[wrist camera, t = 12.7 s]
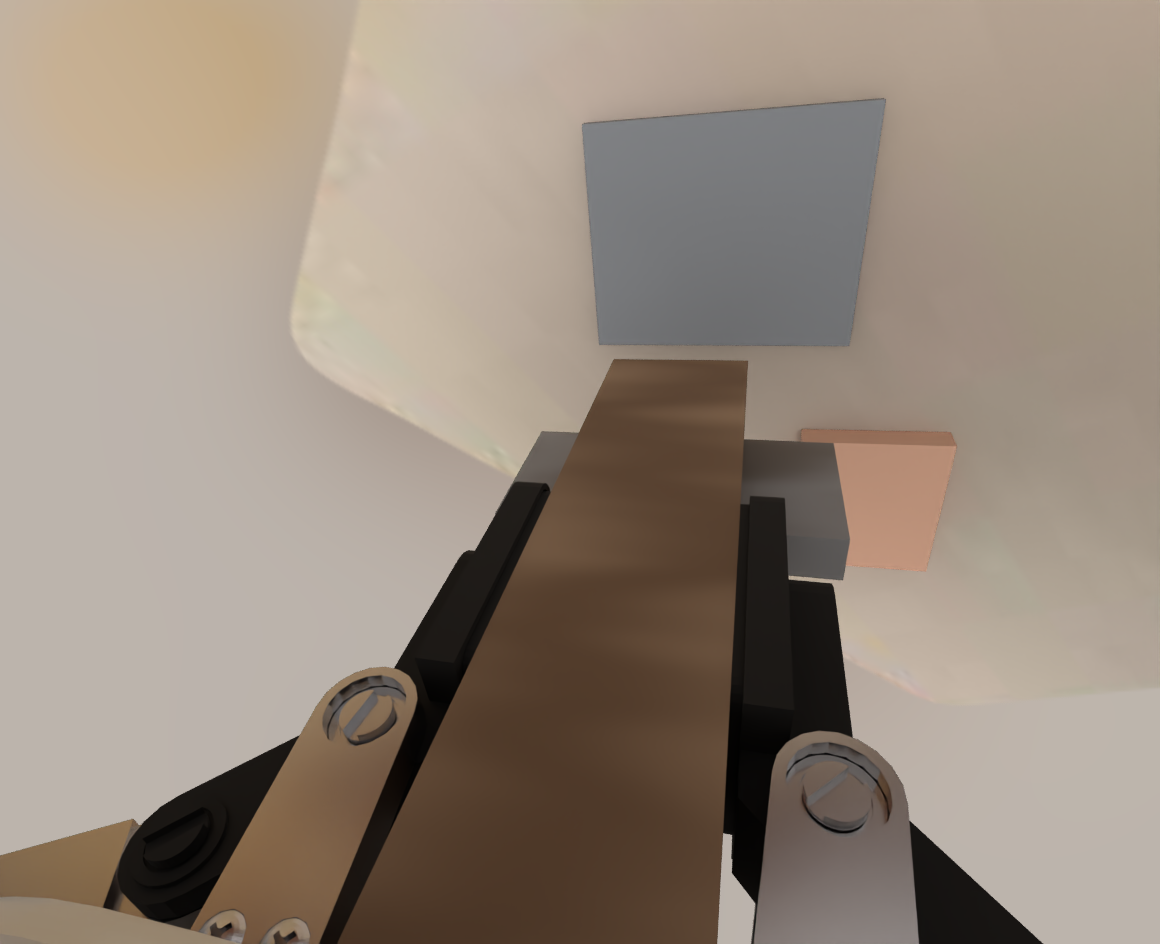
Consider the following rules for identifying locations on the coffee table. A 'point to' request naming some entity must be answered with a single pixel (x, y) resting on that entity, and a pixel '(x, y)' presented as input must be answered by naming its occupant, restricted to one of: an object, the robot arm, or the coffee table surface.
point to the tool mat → (731, 224)
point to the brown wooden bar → (604, 683)
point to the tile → (890, 492)
